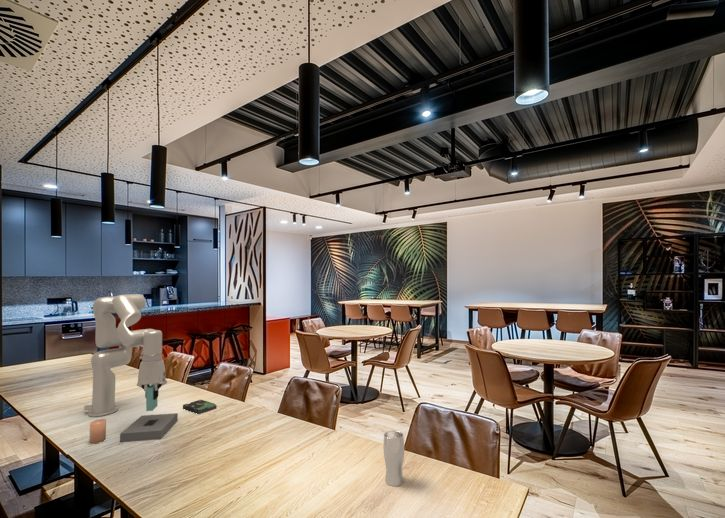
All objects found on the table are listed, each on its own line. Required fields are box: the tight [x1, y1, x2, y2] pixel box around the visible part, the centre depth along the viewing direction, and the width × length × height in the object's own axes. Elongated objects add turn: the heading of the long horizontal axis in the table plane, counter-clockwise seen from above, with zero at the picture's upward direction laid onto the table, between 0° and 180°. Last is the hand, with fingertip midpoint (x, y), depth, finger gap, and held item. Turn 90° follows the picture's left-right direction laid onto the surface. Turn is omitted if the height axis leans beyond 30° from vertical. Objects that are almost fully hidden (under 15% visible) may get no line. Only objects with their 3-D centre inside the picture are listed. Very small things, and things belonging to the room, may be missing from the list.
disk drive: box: [182, 399, 217, 415], centre depth 187 cm, size 10×3×15 cm
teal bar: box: [145, 384, 158, 412], centre depth 160 cm, size 2×6×10 cm, turn 9°
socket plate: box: [119, 412, 179, 443], centre depth 160 cm, size 16×20×4 cm
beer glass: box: [382, 430, 405, 487], centre depth 118 cm, size 7×7×15 cm
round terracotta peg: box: [89, 418, 107, 445], centre depth 150 cm, size 6×6×8 cm
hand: (151, 398), depth 160 cm, fingers closed on teal bar, 2 cm apart
